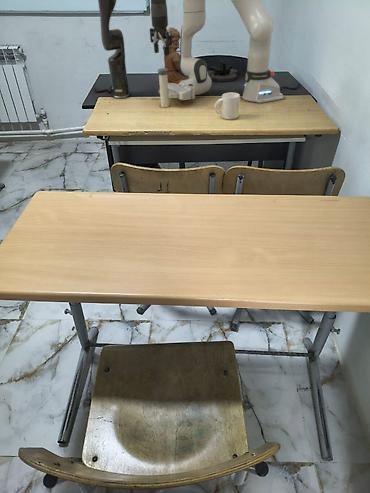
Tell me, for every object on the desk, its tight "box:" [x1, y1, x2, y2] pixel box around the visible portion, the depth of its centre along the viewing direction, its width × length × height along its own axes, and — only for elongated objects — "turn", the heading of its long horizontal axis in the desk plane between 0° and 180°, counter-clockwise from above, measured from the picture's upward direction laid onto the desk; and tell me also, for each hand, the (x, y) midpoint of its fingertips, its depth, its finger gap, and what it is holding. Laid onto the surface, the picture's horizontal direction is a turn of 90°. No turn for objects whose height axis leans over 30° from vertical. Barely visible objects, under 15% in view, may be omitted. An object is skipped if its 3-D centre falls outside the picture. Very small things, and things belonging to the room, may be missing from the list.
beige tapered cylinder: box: [158, 74, 170, 108], centre depth 186 cm, size 4×4×18 cm
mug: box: [214, 92, 241, 120], centre depth 173 cm, size 12×8×10 cm
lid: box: [157, 67, 168, 76], centre depth 181 cm, size 5×5×2 cm
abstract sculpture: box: [207, 58, 239, 83], centre depth 227 cm, size 25×9×20 cm
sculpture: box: [157, 27, 189, 86], centre depth 214 cm, size 27×24×30 cm
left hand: (161, 54), depth 176 cm, fingers open, 7 cm apart
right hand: (164, 94), depth 188 cm, fingers open, 8 cm apart
